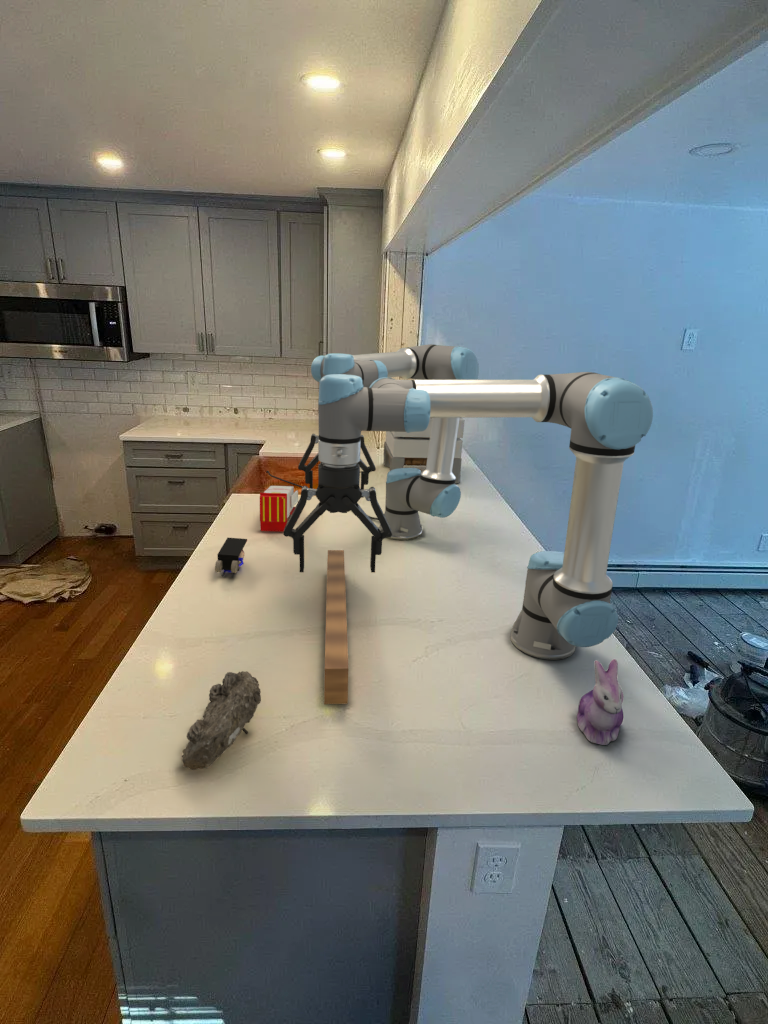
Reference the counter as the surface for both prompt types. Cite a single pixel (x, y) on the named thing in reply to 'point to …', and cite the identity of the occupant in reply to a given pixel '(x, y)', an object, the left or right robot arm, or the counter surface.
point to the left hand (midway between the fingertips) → (336, 495)
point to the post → (336, 632)
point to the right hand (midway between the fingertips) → (337, 569)
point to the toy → (276, 507)
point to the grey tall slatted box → (417, 449)
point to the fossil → (222, 719)
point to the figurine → (602, 706)
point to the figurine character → (230, 556)
